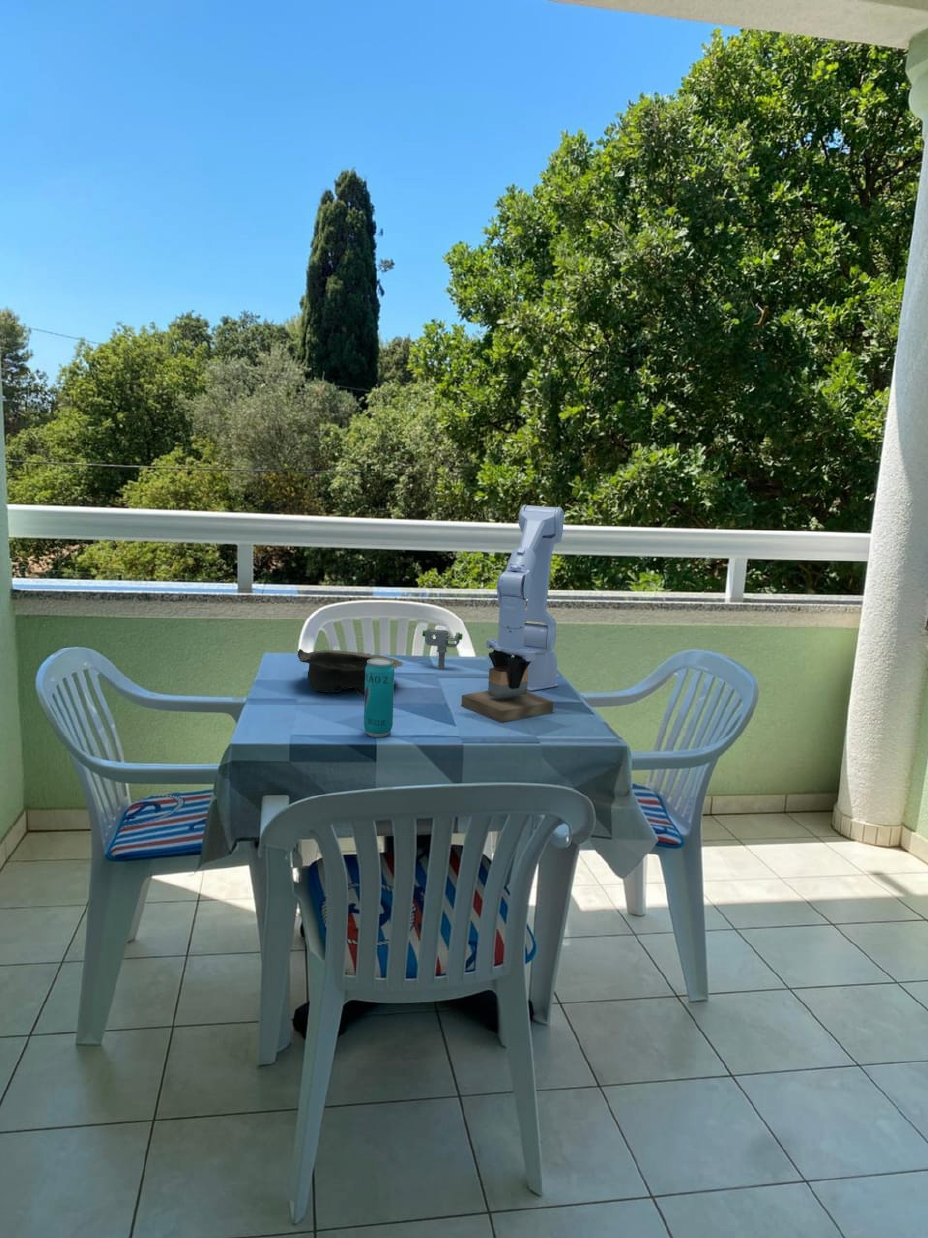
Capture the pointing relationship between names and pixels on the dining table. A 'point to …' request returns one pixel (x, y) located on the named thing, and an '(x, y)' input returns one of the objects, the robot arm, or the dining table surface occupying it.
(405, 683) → the dining table surface
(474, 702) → the walnut stand
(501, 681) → the brown rectangular block
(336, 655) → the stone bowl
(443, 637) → the mechanical component
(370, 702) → the beverage can
